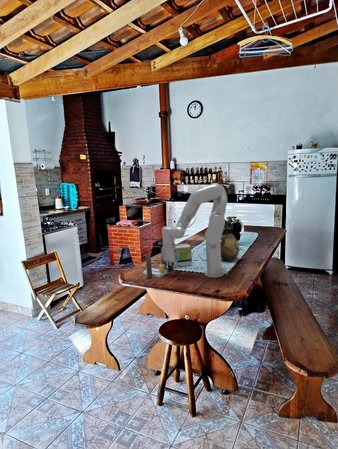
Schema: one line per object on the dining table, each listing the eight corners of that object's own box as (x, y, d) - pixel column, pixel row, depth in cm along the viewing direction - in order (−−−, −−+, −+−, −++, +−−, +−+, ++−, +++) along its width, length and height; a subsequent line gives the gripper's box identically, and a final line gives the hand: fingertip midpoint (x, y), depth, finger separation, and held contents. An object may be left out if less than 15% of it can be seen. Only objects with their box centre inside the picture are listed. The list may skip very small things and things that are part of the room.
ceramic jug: (239, 263, 221) (238, 222, 215) (218, 263, 224) (216, 223, 218) (239, 255, 237) (238, 217, 231) (219, 256, 240) (217, 218, 234)
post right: (167, 268, 220) (166, 247, 217) (165, 270, 218) (163, 248, 214) (164, 268, 222) (162, 247, 219) (161, 269, 219) (159, 248, 216)
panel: (167, 273, 212) (166, 268, 211) (159, 277, 204) (159, 273, 204) (151, 270, 220) (150, 266, 219) (143, 274, 212) (142, 270, 211)
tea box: (172, 268, 220) (170, 248, 217) (169, 264, 230) (168, 245, 227) (192, 265, 223) (191, 246, 220) (188, 261, 233) (187, 242, 230)
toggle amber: (165, 270, 211) (164, 264, 210) (162, 271, 208) (162, 266, 207) (161, 269, 212) (161, 264, 211) (159, 271, 210) (158, 265, 209)
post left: (153, 277, 206) (151, 254, 203) (150, 278, 203) (148, 255, 200) (149, 276, 208) (147, 253, 205) (146, 278, 205) (144, 255, 202)
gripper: (181, 244, 201) (183, 270, 205) (162, 242, 210) (164, 267, 213) (175, 247, 195) (177, 274, 199) (156, 245, 204) (158, 271, 207)
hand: (170, 271), depth 206 cm, fingers closed
